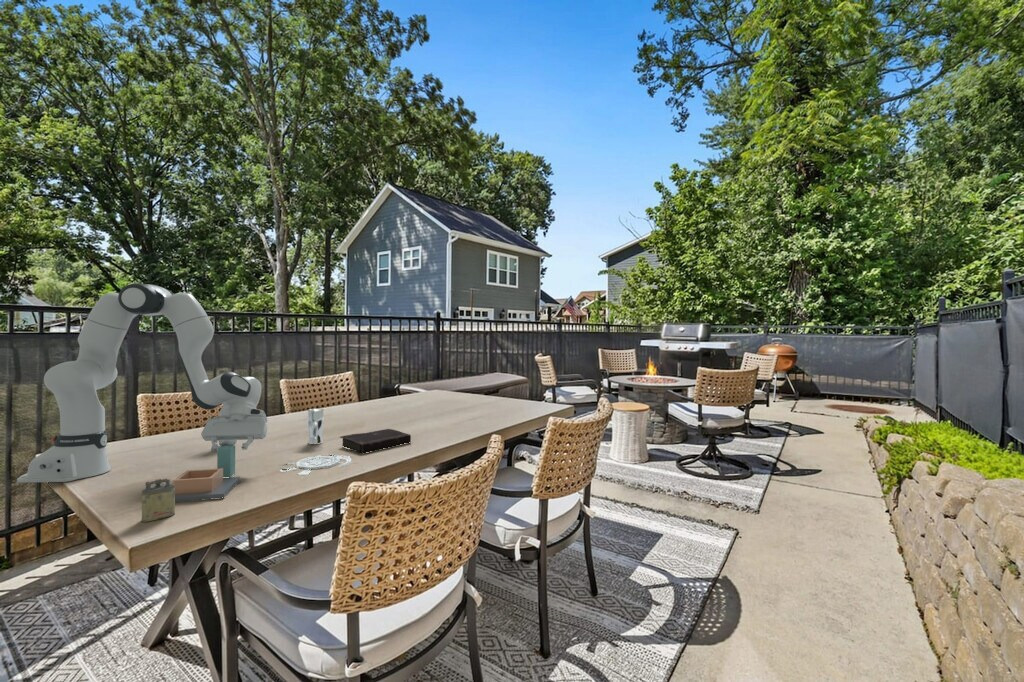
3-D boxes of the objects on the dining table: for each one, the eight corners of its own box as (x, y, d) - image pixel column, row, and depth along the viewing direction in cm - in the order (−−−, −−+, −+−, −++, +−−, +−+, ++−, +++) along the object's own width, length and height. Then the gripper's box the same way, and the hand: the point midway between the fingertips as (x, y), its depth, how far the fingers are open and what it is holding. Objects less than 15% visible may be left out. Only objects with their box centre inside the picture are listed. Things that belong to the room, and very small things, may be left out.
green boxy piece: (173, 511, 122) (173, 475, 122) (177, 515, 120) (177, 478, 119) (139, 519, 117) (140, 481, 116) (143, 523, 114) (143, 485, 114)
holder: (152, 504, 127) (152, 485, 127) (176, 485, 142) (176, 468, 142) (223, 498, 132) (224, 480, 132) (239, 481, 147) (240, 464, 147)
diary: (411, 445, 202) (411, 434, 202) (362, 456, 183) (363, 444, 183) (386, 437, 214) (386, 427, 214) (338, 447, 194) (338, 436, 194)
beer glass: (317, 445, 195) (317, 411, 195) (303, 444, 197) (303, 410, 196) (326, 441, 202) (327, 409, 202) (313, 440, 203) (313, 408, 203)
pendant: (366, 462, 173) (366, 459, 173) (293, 479, 152) (293, 475, 152) (338, 452, 187) (338, 449, 187) (267, 467, 165) (267, 463, 165)
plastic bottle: (223, 444, 194) (224, 398, 194) (239, 444, 194) (240, 399, 194) (215, 448, 187) (215, 401, 187) (231, 448, 188) (232, 401, 188)
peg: (217, 478, 150) (217, 448, 150) (222, 474, 154) (222, 445, 154) (230, 477, 151) (230, 448, 151) (234, 474, 155) (235, 445, 155)
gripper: (206, 411, 159) (192, 445, 150) (268, 410, 164) (258, 443, 154) (211, 421, 164) (198, 455, 154) (272, 420, 168) (263, 452, 159)
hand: (229, 449), depth 154 cm, fingers open, 8 cm apart
